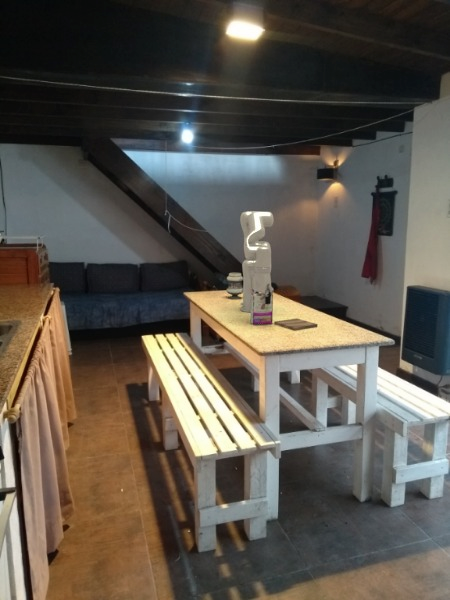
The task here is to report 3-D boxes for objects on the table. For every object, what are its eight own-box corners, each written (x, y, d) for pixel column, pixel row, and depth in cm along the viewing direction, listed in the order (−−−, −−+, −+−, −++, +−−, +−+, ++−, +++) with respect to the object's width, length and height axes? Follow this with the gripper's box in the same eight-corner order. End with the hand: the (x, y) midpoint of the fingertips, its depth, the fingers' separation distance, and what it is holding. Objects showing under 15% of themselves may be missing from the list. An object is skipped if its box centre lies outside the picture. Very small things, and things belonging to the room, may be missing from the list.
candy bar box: (269, 322, 241) (270, 292, 238) (272, 324, 237) (273, 293, 234) (249, 322, 238) (250, 293, 236) (252, 325, 234) (253, 294, 231)
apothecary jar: (224, 297, 317) (224, 272, 314) (240, 296, 321) (240, 272, 317) (229, 300, 306) (229, 274, 303) (245, 299, 309) (246, 274, 306)
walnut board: (274, 324, 236) (274, 321, 236) (296, 320, 245) (296, 318, 245) (294, 330, 223) (294, 327, 223) (317, 326, 232) (317, 324, 232)
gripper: (247, 269, 237) (246, 301, 240) (267, 272, 223) (266, 305, 226) (258, 269, 242) (257, 300, 244) (279, 271, 227) (277, 304, 230)
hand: (262, 302), depth 235 cm, fingers open, 9 cm apart
